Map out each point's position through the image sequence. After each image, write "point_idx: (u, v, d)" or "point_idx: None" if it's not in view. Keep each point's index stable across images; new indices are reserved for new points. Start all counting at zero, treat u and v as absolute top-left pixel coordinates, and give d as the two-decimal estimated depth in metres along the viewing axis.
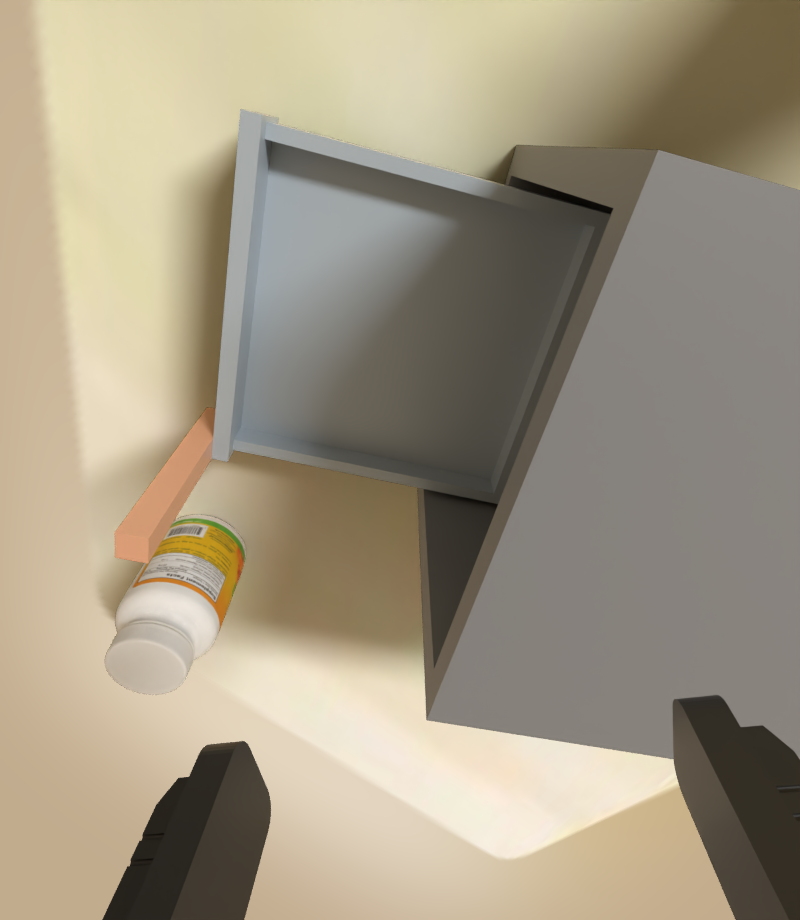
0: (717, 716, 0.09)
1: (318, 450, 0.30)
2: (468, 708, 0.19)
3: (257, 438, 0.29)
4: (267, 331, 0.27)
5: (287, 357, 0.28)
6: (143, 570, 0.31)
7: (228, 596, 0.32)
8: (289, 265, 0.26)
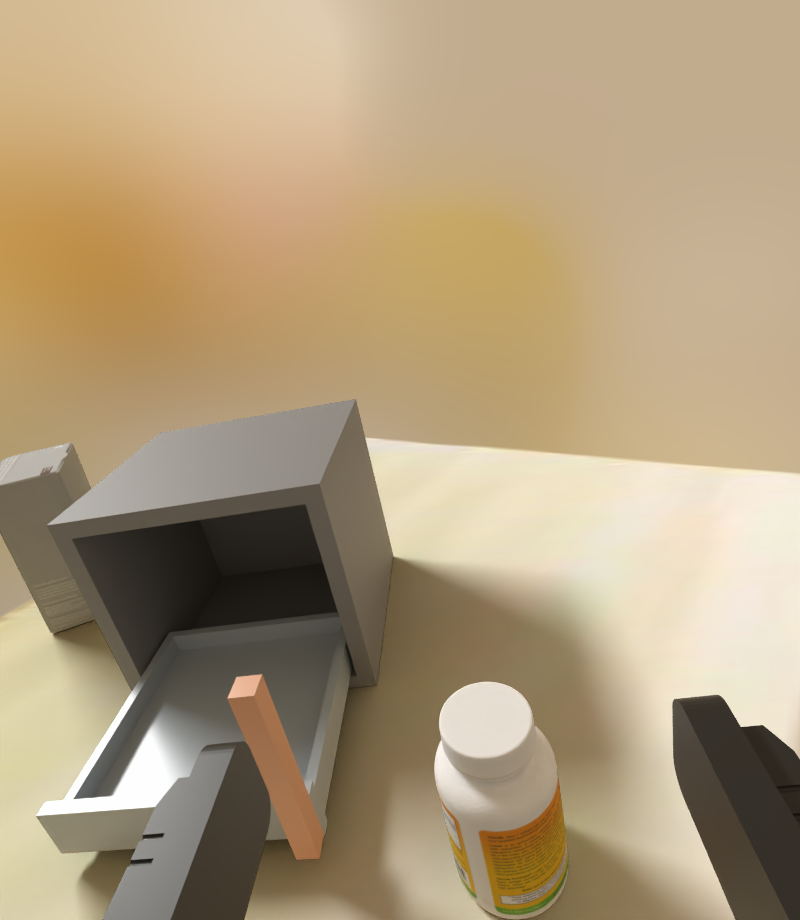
0: (717, 716, 0.09)
1: None
2: (308, 476, 0.34)
3: None
4: None
5: None
6: (461, 839, 0.24)
7: None
8: None
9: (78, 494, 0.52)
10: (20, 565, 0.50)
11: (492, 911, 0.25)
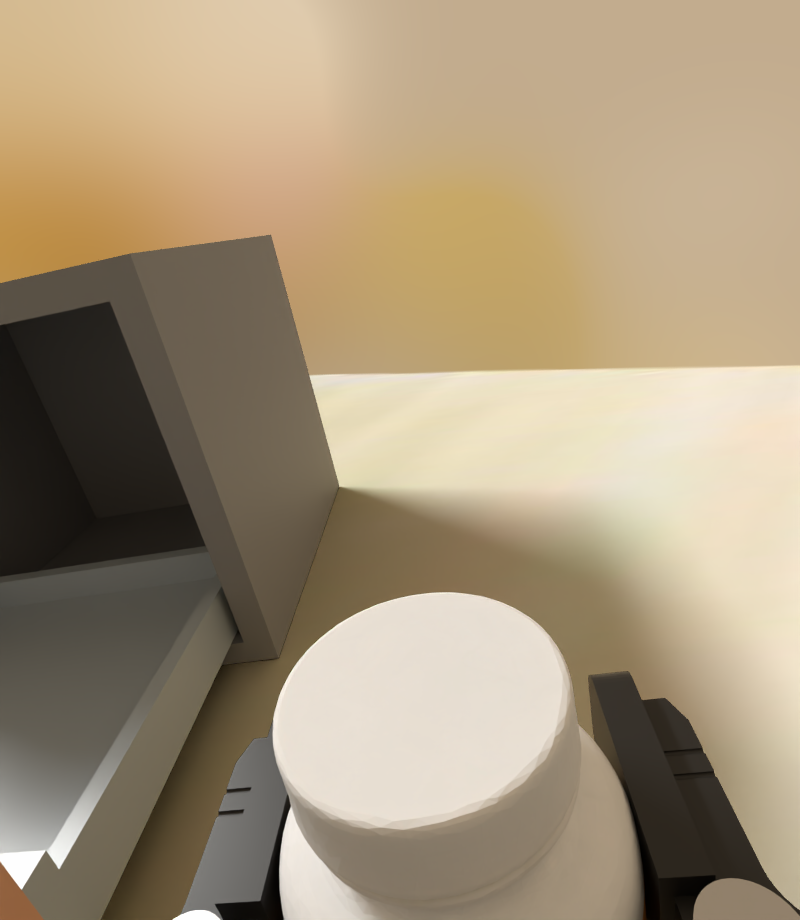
0: (622, 689, 0.10)
1: None
2: None
3: None
4: None
5: None
6: None
7: None
8: None
9: None
10: None
11: None
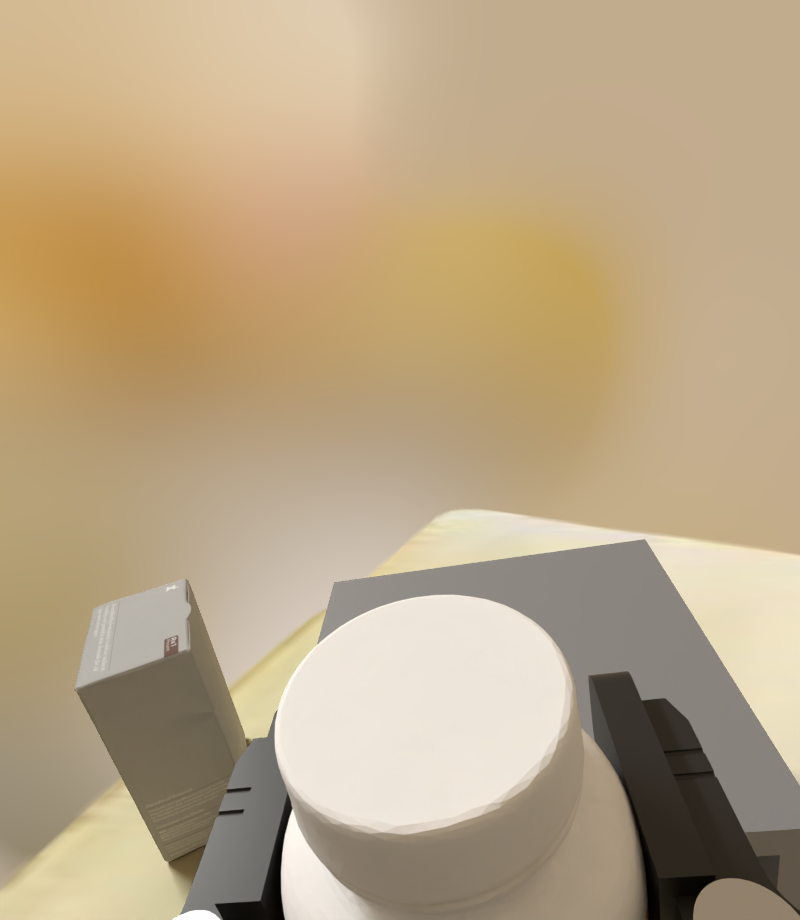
0: (622, 689, 0.10)
1: None
2: (769, 790, 0.18)
3: None
4: None
5: None
6: None
7: None
8: None
9: (208, 667, 0.35)
10: (129, 781, 0.34)
11: None
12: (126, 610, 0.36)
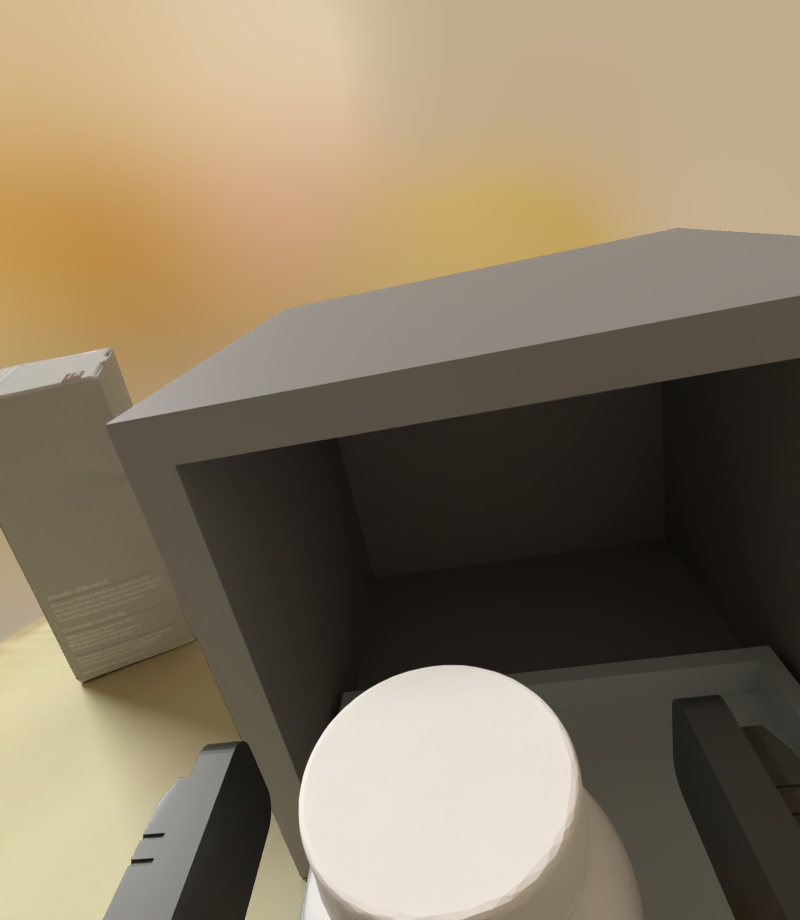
0: (716, 716, 0.09)
1: None
2: None
3: None
4: None
5: None
6: None
7: None
8: None
9: None
10: (23, 558, 0.27)
11: None
12: (29, 367, 0.29)
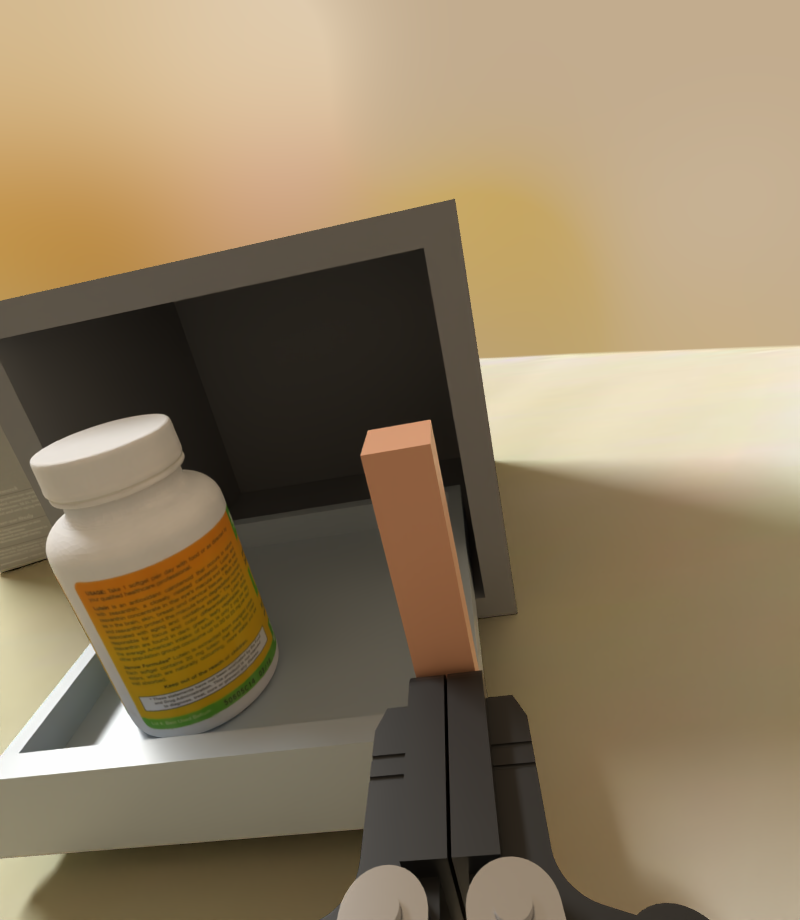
0: (470, 687, 0.11)
1: None
2: None
3: None
4: None
5: None
6: (75, 613, 0.17)
7: None
8: None
9: None
10: None
11: (144, 729, 0.18)
12: None
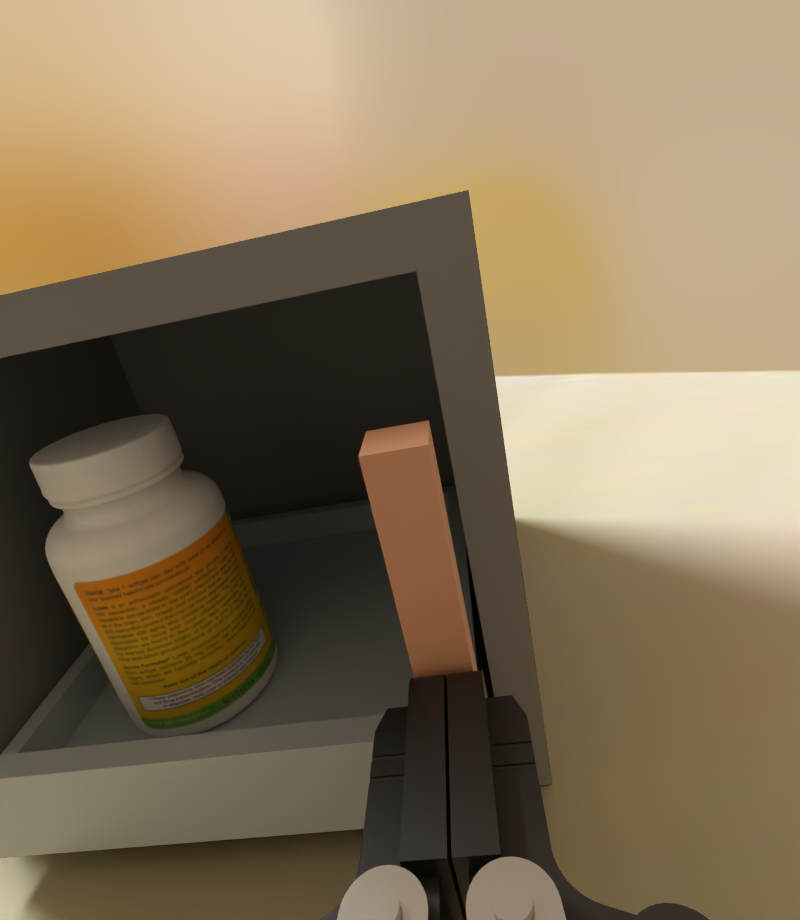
0: (470, 687, 0.11)
1: None
2: None
3: None
4: None
5: None
6: (74, 613, 0.17)
7: None
8: None
9: None
10: None
11: (143, 729, 0.18)
12: None
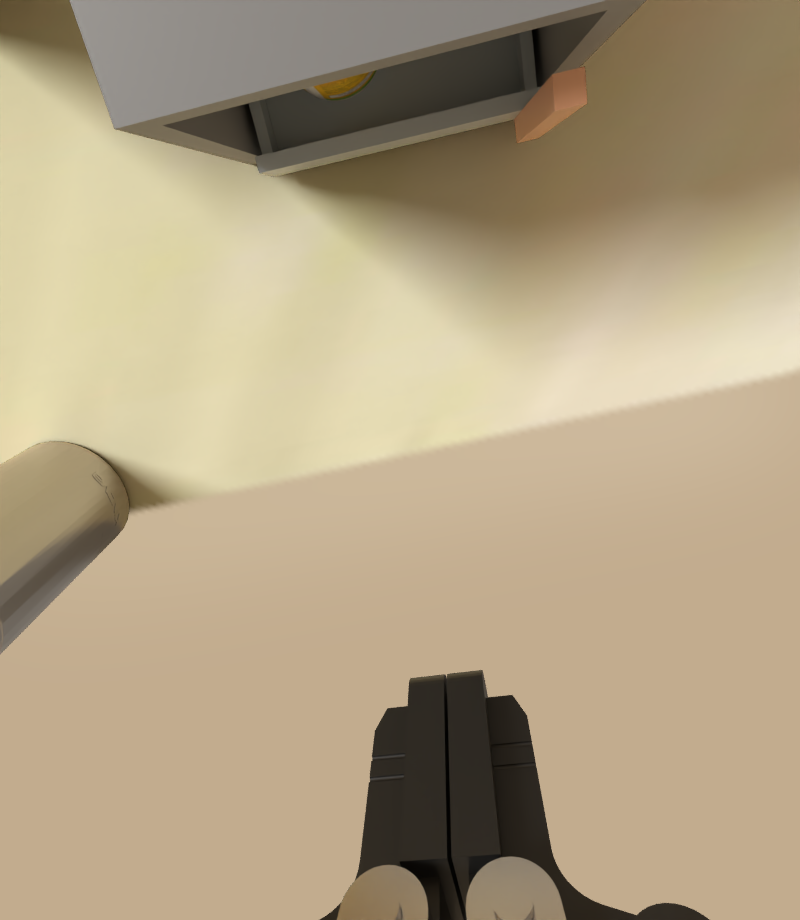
0: (470, 687, 0.11)
1: None
2: None
3: (521, 71, 0.29)
4: (418, 107, 0.31)
5: (433, 78, 0.30)
6: None
7: None
8: (356, 108, 0.31)
9: None
10: None
11: (323, 99, 0.30)
12: None
